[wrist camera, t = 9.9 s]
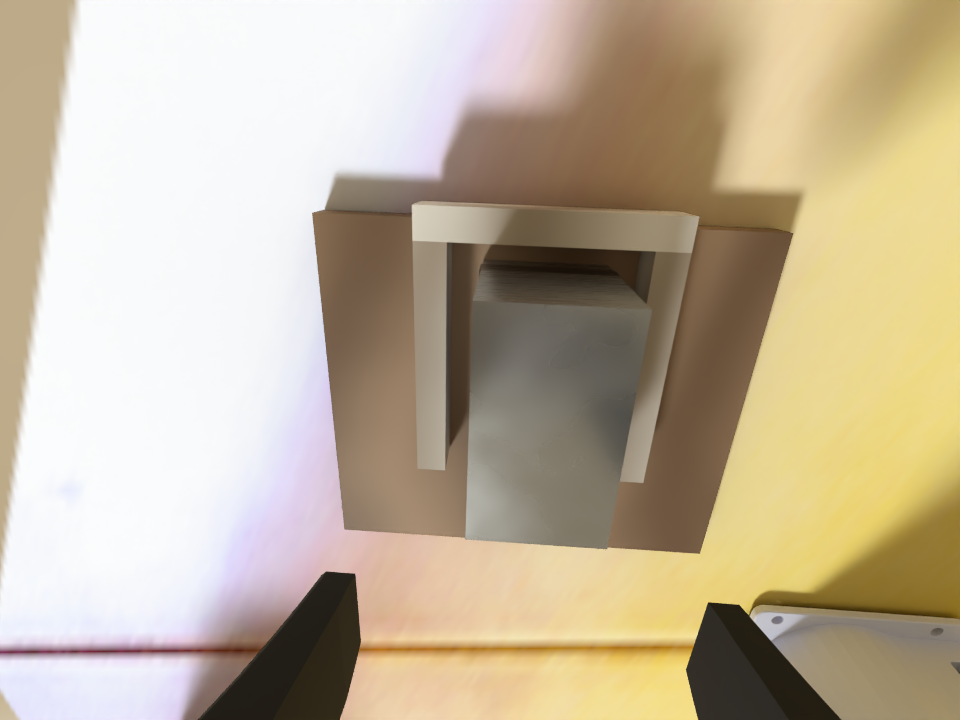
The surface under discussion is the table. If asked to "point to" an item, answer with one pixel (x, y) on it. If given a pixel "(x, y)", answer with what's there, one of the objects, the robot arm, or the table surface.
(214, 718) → the robot arm
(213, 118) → the table surface
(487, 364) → the block
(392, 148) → the table surface
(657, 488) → the holder
